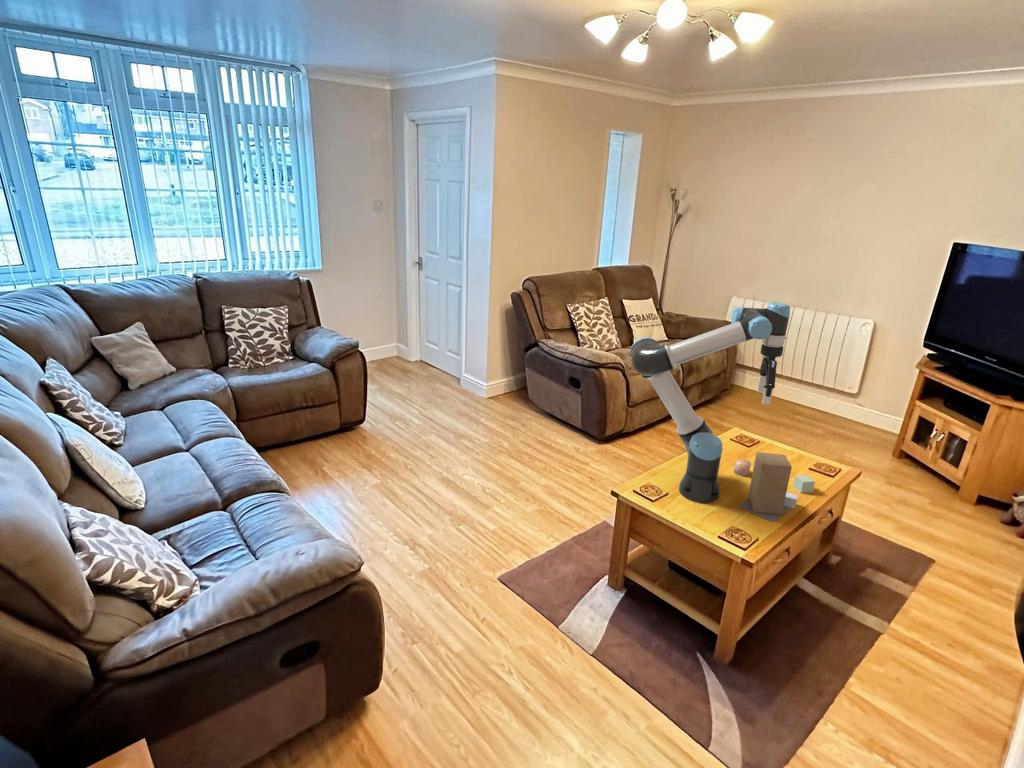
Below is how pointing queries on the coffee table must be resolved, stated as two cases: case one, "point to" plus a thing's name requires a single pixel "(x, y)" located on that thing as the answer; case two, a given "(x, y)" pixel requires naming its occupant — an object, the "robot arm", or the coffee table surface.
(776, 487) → the wooden block
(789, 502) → the pale blue cube
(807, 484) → the sage cube
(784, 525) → the coffee table surface
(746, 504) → the slate mat
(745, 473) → the pale pink rounded piece
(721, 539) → the coffee table surface
